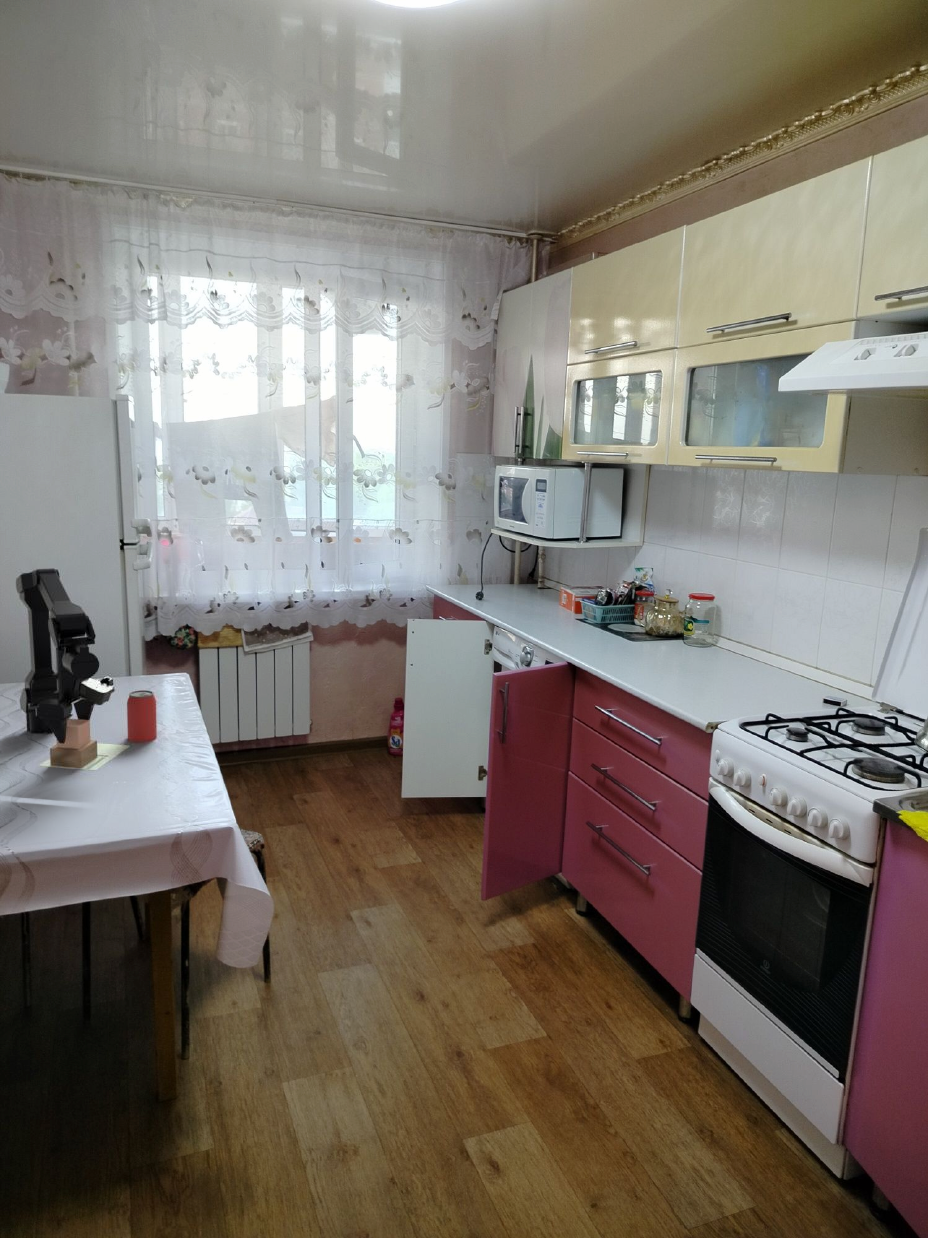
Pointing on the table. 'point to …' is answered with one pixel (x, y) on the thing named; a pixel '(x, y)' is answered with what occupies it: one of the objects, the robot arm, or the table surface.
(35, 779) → the table surface
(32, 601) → the robot arm
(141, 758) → the table surface
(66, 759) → the base block
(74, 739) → the cube
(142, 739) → the beer can
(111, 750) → the cream mat
